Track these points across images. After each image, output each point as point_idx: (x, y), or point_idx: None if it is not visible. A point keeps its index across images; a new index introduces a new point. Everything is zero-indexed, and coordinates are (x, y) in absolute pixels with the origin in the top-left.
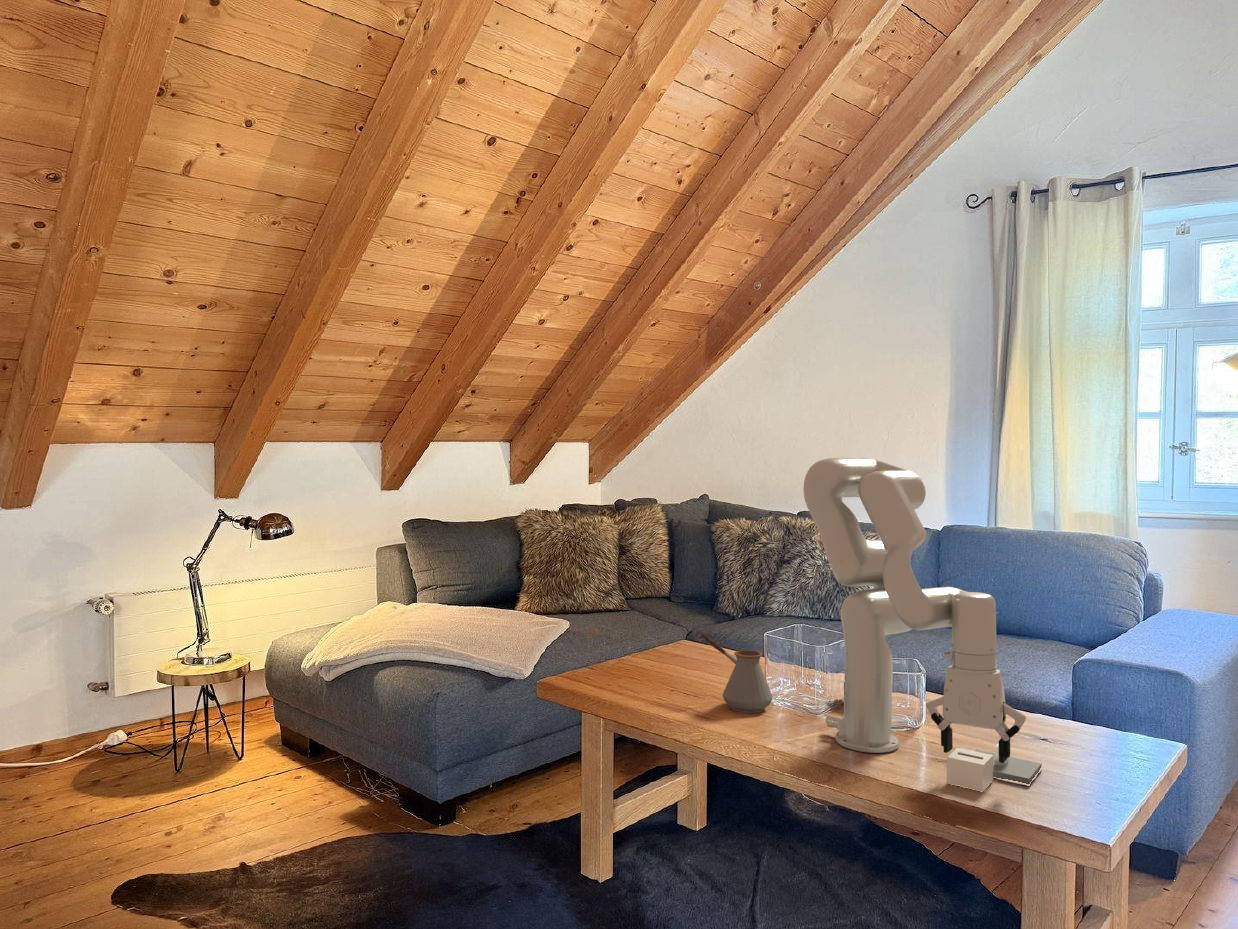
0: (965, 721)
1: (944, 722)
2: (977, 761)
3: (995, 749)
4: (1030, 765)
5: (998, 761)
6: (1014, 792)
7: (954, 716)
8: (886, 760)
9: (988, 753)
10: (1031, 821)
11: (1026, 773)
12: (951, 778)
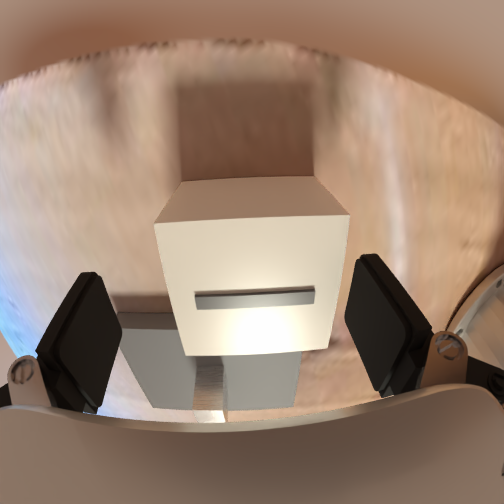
0: (288, 460)
1: (451, 380)
2: (198, 251)
3: (220, 402)
4: (159, 393)
5: (212, 375)
6: (119, 256)
7: (434, 457)
8: (472, 254)
9: (262, 405)
10: (18, 85)
11: (135, 354)
12: (301, 183)
